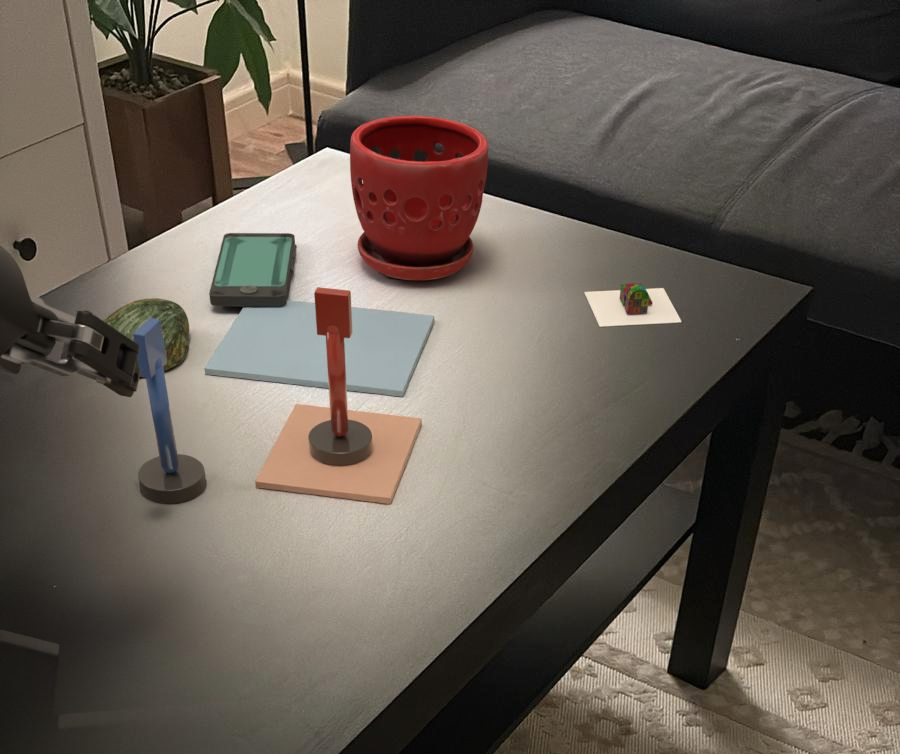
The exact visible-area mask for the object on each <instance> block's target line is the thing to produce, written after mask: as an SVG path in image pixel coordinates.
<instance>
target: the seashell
mask: <svg viewBox="0 0 900 754" xmlns="http://www.w3.org/2000/svg"><path fill="white" fill-rule="evenodd" d="M149 318H154V319H159V320H161V327H162V333H163V339H164V346H165V352H166V358H167V363H166V364H165V365H164V366H163V368H164V372H165V371H169V370H171V369H172V368H173V367H175V366H177V365H179V364H180V363H182V362H183V361H185V358H186V356H187V352H188V350H189V347H190V343H189V341H188V337H187V336H188V335H189V331H190V323H189V318H188V315H187V312H186V311H185V309H184V308H183V307H182V306H181V305H180V304H178V303H176V302H175V301H172V300H168V299H163V298H157V297H155V298H142V299H137V300H134V301H132V302H129V303H127V304H125V305H123V306H121V307H119V308H118V309H116V310H115V311H113V312H112V313H111V314H109V315H108V316H107V317H105V318H104V319H102V321H104V322H105V323H107V324H108V325H110V326H111V327H113V328H114V329H116V330H117V331H119V332H120V333H122V334H123V335H125V336H126V337H128V338H129V339H130V340H132V341H134V337H133V333H134V332H135V331H136V330H138V329H139V328H140V327H141V326H142V325H143V324H144V323H145V322H146V321H147V320H148V319H149ZM136 364H137V365H138V359H137V362H136ZM138 367H139V365H138Z"/></svg>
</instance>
